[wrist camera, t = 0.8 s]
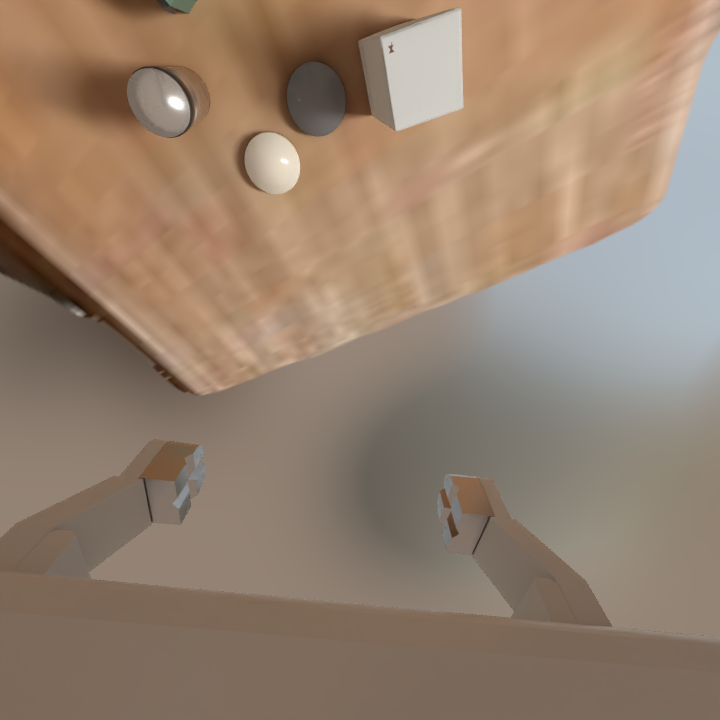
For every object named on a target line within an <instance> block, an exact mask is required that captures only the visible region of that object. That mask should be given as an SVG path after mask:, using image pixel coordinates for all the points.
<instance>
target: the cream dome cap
mask: <svg viewBox="0 0 720 720" xmlns="http://www.w3.org/2000/svg"><path fill="white" fill-rule="evenodd" d="M244 160H245V168H246V171H247V173H248V176H249V177H250V179H251V180H252V182H253V183H254V184H255V185H256V186H257V187H258V188H260V189H261V190H263V191H265V192H267V193H271V194H282V193H285V192H287V191H289V190H290V189H291V188H292V187H293V186H294V185H295V184H296V182H297V180H298V178H299V174H300V161H299V156H298V153H297V151H296V149H295V147H294V146H293V144H292V143H291V142H290V141H289V140H288V139H287V138H286V137H284V136H283V135H281V134H279V133H276V132H271V131H267V132H262V133H259V134H257V135H256V136H254V137H253V138H252V139H251V141H250V142H249V144H248V146H247V148H246V151H245V158H244Z"/></svg>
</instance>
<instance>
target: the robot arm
mask: <svg viewBox="0 0 720 720" xmlns="http://www.w3.org/2000/svg"><path fill="white" fill-rule="evenodd" d="M203 456H204V450H203V447H202V446H201V445H195V444H188V443H181V442H174V441H164V440H157V439H154V440H152V441H150V442H149V443H148V444H147V445H146V446H145V447H144V448H143V450H142V451H141V452H140V453H139V454H138V455H137V456H136V458H135V459H134V460H133V461H132V462H131V463H130V464H129V466H128V467H127V468H126V469H125V470H124V471H123V472H122V474H121V475H120V476H113V477H110V478H109V479H106V480H104V481H102V482H100V483H98V484H96V485H94V486H92V487H90V488H88V489H86V490H84V491H82V492H80V493H78V494H75V495H73V496H71V497H69V498H67V499H66V500H63V501H61V502H59V503H57V504H55V505H53V506H51V507H49V508H47V509H45V510H43V511H40V512H38V513H37V514H34V515H32V516H30V517H28V518H26V519H24V520H22V521H20V522H18V523H16V524H15V525H14V526H13V527H12V528H11V529H9V531H7V532H6V533H5V534H4V535H3V536H2V537H1V538H0V720H720V637H715V636H704V635H692V634H682V633H670V632H660V631H659V632H658V631H648V630H637V629H627V628H615V627H612V625H611V623H610V621H609V620H608V618H607V616H606V614H605V613H604V611H603V610H602V608H601V606H600V604H599V602H598V601H597V599H596V597H595V595H594V594H593V592H592V590H591V589H590V587H589V585H588V584H587V582H586V580H585V579H583V578H582V577H581V576H580V575H579V574H578V573H577V572H575V571H574V570H573V569H572V568H571V567H569V565H567V564H566V563H565V562H564V561H563V560H562V559H561V558H559V557H558V556H557V555H556V554H555V553H554V552H553V551H551V550H550V549H549V548H548V547H547V546H546V545H545V544H543V543H542V542H541V541H540V540H539V539H538V538H536V537H535V536H534V535H533V534H532V533H531V532H530V531H528V530H527V529H526V528H525V527H524V526H523V525H522V524H520V523H519V522H518V521H517V520H514V519H511V517H510V514H509V512H508V510H507V508H506V506H505V504H504V502H503V500H502V497H501V495H500V493H499V491H498V489H497V487H496V485H495V483H494V481H493V480H492V479H491V478H485V477H473V476H464V475H454V474H447V475H446V476H445V478H444V481H443V483H444V487H445V488H444V489H443V490H441V491H440V493H439V496H438V502H437V513H438V518H439V521H440V522H441V523H442V524H443V525H444V529H443V531H442V535H443V539H444V543H445V547H446V551H447V552H450V553H458V554H465V555H466V554H467V555H473V556H472V557H473V558H474V560H475V561H476V562H477V564H478V565H479V566H480V568H481V569H482V570H483V571H484V573H485V574H486V575H487V577H488V578H489V579H490V581H491V582H492V583H493V585H494V586H495V587H496V588H497V590H498V591H499V592H500V594H501V595H502V596H503V598H504V599H505V600H506V601H507V603H508V604H509V605H510V607H511V608H512V609H513V611H514V613H513V615H512V616H511V618H507V617H496V616H486V615H475V614H464V613H453V612H441V611H431V610H420V609H409V608H398V607H387V606H376V605H365V604H354V603H342V602H332V601H321V600H310V599H300V598H288V597H278V596H266V595H257V594H246V593H234V592H224V591H212V590H202V589H192V588H179V587H170V586H158V585H148V584H137V583H126V582H116V581H105V580H93V579H91V576H90V573H89V572H90V571H91V570H92V569H94V568H95V567H96V566H98V565H99V564H100V563H102V562H103V561H104V560H105V559H107V558H108V557H110V556H111V555H112V554H113V553H115V552H116V551H117V550H119V549H120V548H121V547H123V546H124V545H125V544H127V543H128V542H129V541H130V540H132V539H133V538H134V537H136V536H137V535H138V534H140V533H141V532H142V531H143V530H145V529H146V528H147V527H149V526H150V525H151V524H152V523H164V524H177V525H181V523H182V522H183V520H184V518H185V516H186V514H187V513H188V511H189V509H190V507H191V501H190V499H191V498H193V497H195V496H196V495H197V494H198V493H199V491H200V489H201V487H202V484H203V481H204V478H205V465H204V463H203V462H202V461H201V459H202V457H203Z"/></svg>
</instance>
